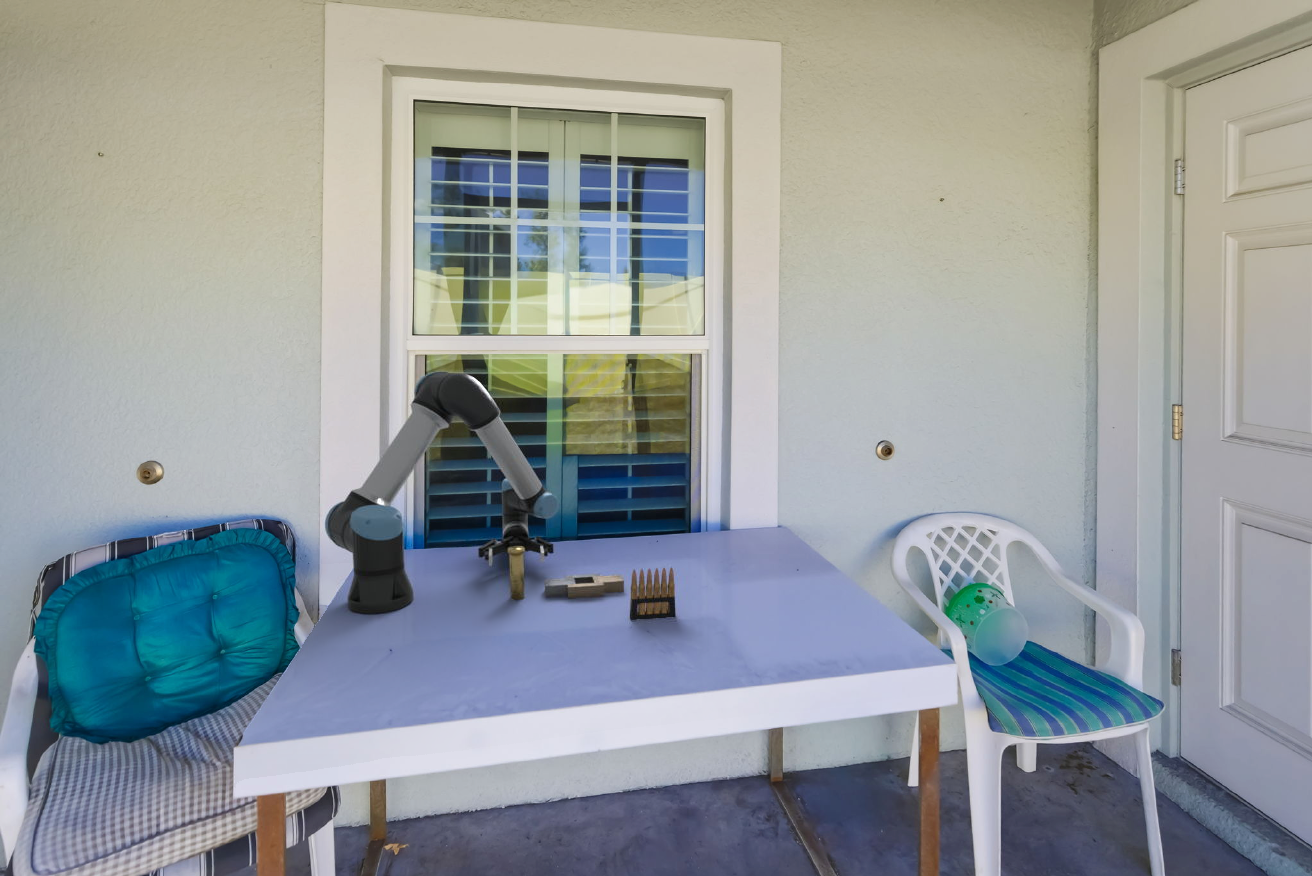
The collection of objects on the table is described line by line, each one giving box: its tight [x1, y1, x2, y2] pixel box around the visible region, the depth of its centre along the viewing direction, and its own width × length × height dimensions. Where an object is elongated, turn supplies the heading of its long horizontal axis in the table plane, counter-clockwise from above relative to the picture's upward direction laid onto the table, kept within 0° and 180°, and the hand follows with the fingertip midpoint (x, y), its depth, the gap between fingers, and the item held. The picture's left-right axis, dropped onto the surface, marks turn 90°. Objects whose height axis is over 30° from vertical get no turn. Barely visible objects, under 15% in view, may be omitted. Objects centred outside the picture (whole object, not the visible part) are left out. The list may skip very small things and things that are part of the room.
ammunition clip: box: [629, 566, 677, 621], centre depth 163 cm, size 11×2×12 cm, turn 100°
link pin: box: [507, 546, 526, 601], centre depth 175 cm, size 4×4×13 cm
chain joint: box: [544, 573, 625, 600], centre depth 180 cm, size 20×9×3 cm, turn 102°
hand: (516, 559), depth 184 cm, fingers open, 13 cm apart
